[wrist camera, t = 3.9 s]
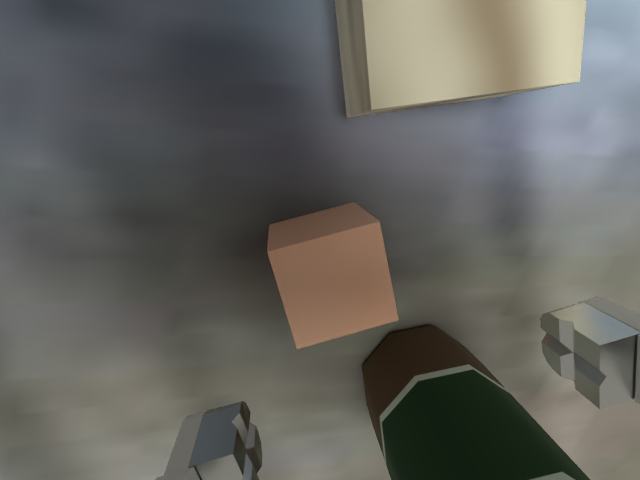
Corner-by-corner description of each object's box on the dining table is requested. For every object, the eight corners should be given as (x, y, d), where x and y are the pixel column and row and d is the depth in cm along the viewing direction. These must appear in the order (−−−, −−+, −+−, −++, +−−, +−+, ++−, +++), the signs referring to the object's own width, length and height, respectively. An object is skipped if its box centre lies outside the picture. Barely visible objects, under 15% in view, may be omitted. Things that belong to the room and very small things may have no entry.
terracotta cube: (292, 301, 21) (296, 349, 16) (269, 224, 19) (267, 251, 14) (370, 279, 21) (398, 320, 16) (354, 201, 19) (379, 221, 15)
